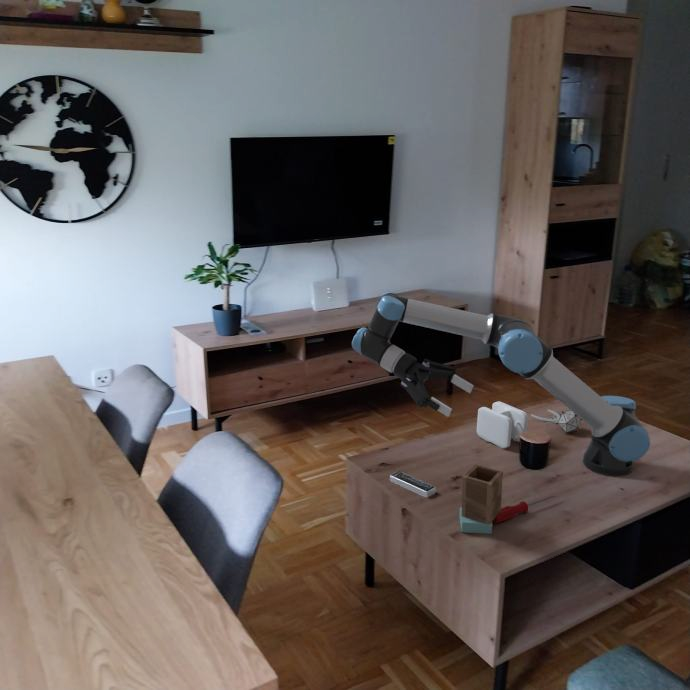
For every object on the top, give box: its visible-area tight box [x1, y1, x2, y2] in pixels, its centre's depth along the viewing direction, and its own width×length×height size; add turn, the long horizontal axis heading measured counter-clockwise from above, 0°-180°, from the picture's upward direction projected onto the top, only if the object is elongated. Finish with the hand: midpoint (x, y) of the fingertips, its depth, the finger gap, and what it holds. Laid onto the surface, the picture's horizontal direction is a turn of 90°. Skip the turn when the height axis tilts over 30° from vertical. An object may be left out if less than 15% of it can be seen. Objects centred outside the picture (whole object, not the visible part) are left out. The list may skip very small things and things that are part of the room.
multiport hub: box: [389, 470, 437, 498], centre depth 214 cm, size 4×14×2 cm, turn 46°
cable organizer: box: [476, 401, 529, 449], centre depth 244 cm, size 15×11×12 cm
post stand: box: [458, 506, 493, 535], centre depth 193 cm, size 8×8×9 cm
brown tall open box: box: [461, 464, 504, 525], centre depth 192 cm, size 8×8×12 cm
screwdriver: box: [492, 494, 558, 525], centre depth 200 cm, size 4×25×4 cm, turn 121°
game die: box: [554, 410, 583, 435], centre depth 251 cm, size 9×8×10 cm
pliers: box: [530, 408, 560, 423], centre depth 262 cm, size 10×2×15 cm
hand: (461, 401), depth 200 cm, fingers open, 13 cm apart
